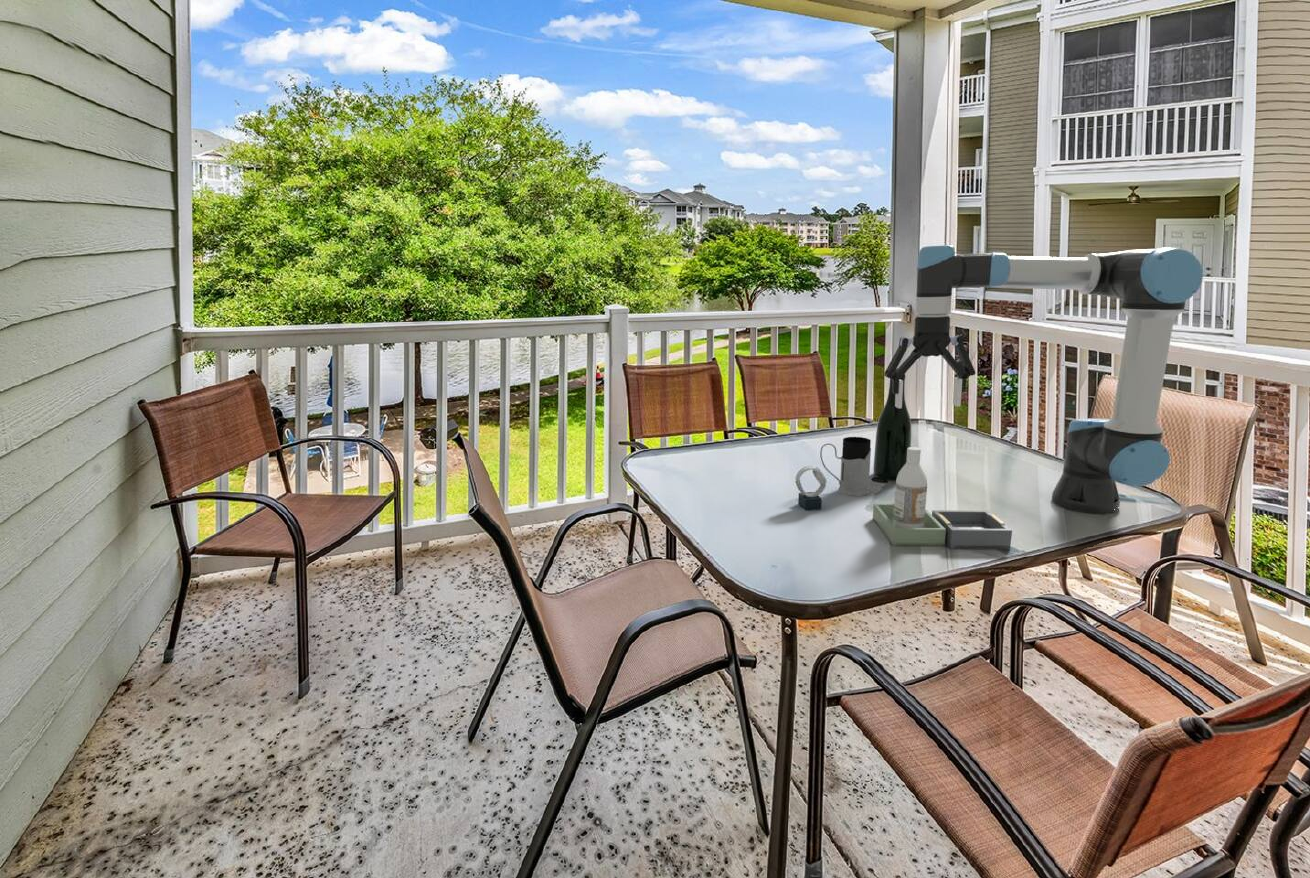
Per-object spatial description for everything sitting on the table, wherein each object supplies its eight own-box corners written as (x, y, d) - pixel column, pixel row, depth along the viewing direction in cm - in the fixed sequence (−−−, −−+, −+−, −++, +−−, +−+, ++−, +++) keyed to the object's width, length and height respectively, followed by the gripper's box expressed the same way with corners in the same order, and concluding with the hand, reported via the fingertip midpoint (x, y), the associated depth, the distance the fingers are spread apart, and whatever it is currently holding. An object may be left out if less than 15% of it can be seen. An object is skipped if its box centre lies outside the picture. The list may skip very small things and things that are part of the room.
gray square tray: (985, 528, 164) (987, 509, 163) (1010, 549, 151) (1012, 529, 150) (930, 528, 165) (932, 509, 163) (950, 549, 152) (952, 528, 151)
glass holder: (872, 496, 189) (875, 444, 185) (819, 494, 191) (821, 442, 188) (868, 486, 197) (871, 436, 193) (817, 485, 199) (819, 435, 196)
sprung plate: (982, 526, 162) (982, 523, 162) (1000, 542, 152) (1001, 539, 152) (939, 526, 163) (939, 523, 163) (955, 542, 153) (955, 539, 153)
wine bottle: (875, 480, 202) (882, 370, 195) (870, 471, 212) (876, 366, 205) (912, 481, 201) (920, 371, 193) (905, 472, 211) (913, 366, 203)
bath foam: (911, 536, 158) (917, 453, 153) (886, 528, 163) (891, 447, 159) (929, 530, 161) (936, 449, 157) (904, 522, 167) (910, 443, 162)
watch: (828, 509, 179) (830, 469, 176) (799, 511, 178) (800, 470, 175) (820, 502, 184) (821, 463, 182) (791, 504, 183) (793, 465, 181)
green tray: (919, 518, 171) (920, 503, 170) (944, 546, 154) (945, 529, 153) (872, 518, 171) (873, 503, 170) (892, 545, 154) (893, 529, 153)
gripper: (980, 312, 159) (974, 401, 164) (873, 316, 160) (869, 405, 165) (995, 314, 151) (988, 407, 156) (882, 318, 152) (878, 411, 157)
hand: (927, 406), depth 160 cm, fingers open, 13 cm apart
